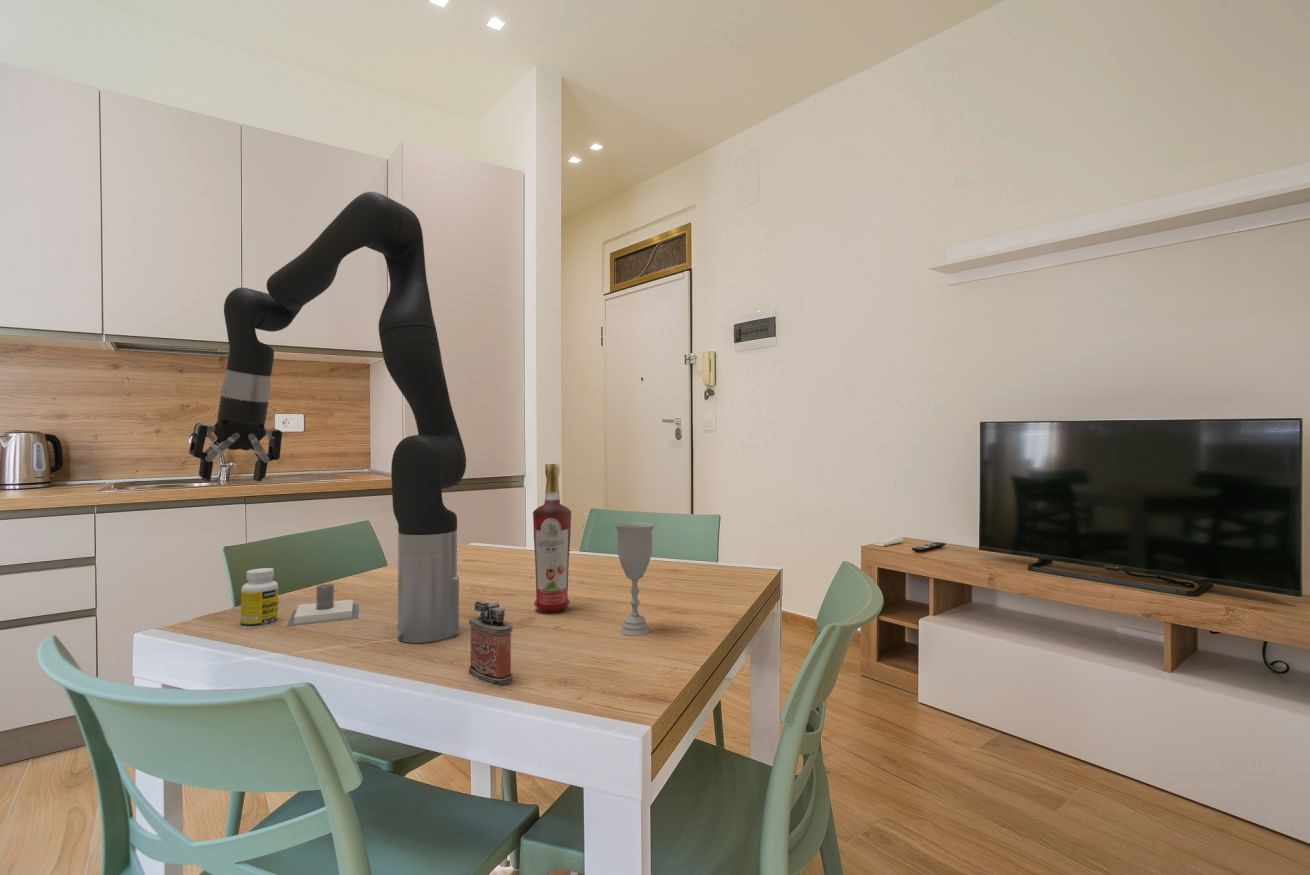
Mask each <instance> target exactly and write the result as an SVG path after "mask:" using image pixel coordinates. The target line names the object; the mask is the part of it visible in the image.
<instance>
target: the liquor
mask: <svg viewBox="0 0 1310 875" xmlns="http://www.w3.org/2000/svg"><path fill="white" fill-rule="evenodd" d="M544 465H545V467H544V468H545V478H546V479H545V480H546V483H545V491H544V492H545V493H544V504H542V505H540V506H537V508H535V509H534V510H533V511H532V522H533V524H532V525H533V543H534V544H533V546H534V563H535V564H534V565H535V594H536V595H535V598H536V599H535V601H534V602H533V605H534V606H535V607H536V608H537V609H538V610H539V612H541V613H544V614H545V613H547V614H553V613H560V612H563V611H564V610H565V608H567V607H568V606H569V604H570V603H571V601H570V599H569V596H568V594H569V566H570V564H569V563H570V562H569V561H570V550H571V549H570V548H571V547H570V546H571V532H572V531H571V530H572V527H571V526H572V511H571V509H570V508H569V507H567V506H565V505H563V504H561V497H560V488H559V487H560V484H559V479H560V478H559V475H560V464H559V463H546V464H544Z"/></svg>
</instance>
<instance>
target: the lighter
mask: <svg viewBox="0 0 1310 875" xmlns="http://www.w3.org/2000/svg"><path fill="white" fill-rule="evenodd" d="M474 611H476V612H479V613H480V615H474V616H471V617H469V620H468V621H469V622H468V625H470V664H469V665H468V673H470V674H471V675H470V674H469V675H470V676H472V677H473V676H474V677H476V678H478V679H479V680H482V681H484V682H487V683H491V684H494V685H504V686H507V685H506V684H508V685H510V684H511V683H512V682H513V673H511V671H512V670H511V667H512V666H511V665H512V663H511V661H512V660H511V659H512V658H511V656H512V651H511V650H512V645H511V644H512V640H511V639H512V638H511V637H512V635H511V634H512V632H513V624H512V623H510V622H509V621H507V620H505V615H506V614H505V612H506V611H505V608H503V607H500V604H499V603H498V602H492V603H489V602H487V601H485V600H480V599H478V600H476V601H475V602H474ZM474 677H473V678H474ZM476 678H475V679H476ZM478 679H477V680H478ZM479 680H478V681H479ZM482 681H481V682H482ZM484 682H483V683H484ZM487 683H486V684H487ZM509 683H510V684H509ZM491 684H490V685H491ZM494 685H493V686H494Z"/></svg>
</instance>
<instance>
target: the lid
mask: <svg viewBox="0 0 1310 875" xmlns="http://www.w3.org/2000/svg"><path fill="white" fill-rule="evenodd" d="M353 604H354V599H344V600H335V584H333V583H331V584H330V583H324V584H319V585H316V602H314V603H303V604H298V607H297V609H296V610H297V611H296V613H295V616H294V624H298V623H307V622H316V621H325V620H334V619H343V618H352V612H353Z"/></svg>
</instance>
